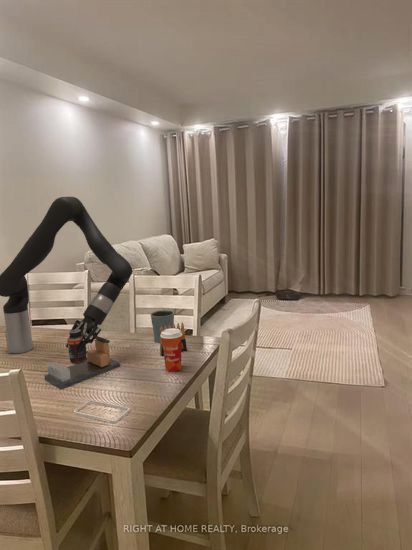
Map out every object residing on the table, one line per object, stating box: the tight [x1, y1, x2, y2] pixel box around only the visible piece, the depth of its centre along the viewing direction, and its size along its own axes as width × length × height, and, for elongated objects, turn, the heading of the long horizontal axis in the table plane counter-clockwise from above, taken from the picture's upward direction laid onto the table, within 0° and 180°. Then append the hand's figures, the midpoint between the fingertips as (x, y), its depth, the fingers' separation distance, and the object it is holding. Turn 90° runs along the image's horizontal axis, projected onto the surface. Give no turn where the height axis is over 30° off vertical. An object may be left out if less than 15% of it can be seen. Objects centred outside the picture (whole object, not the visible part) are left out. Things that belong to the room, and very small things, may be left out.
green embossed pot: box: [150, 309, 175, 344], centre depth 173 cm, size 10×10×12 cm
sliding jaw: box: [86, 335, 111, 367], centre depth 147 cm, size 5×10×9 cm, turn 47°
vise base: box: [44, 358, 121, 390], centre depth 143 cm, size 23×12×6 cm, turn 137°
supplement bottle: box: [66, 329, 88, 365], centre depth 140 cm, size 6×6×11 cm
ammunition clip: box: [159, 321, 188, 358], centre depth 157 cm, size 11×2×12 cm, turn 116°
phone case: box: [73, 399, 131, 424], centre depth 115 cm, size 7×1×15 cm
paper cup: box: [160, 327, 182, 373], centre depth 142 cm, size 8×8×14 cm
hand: (72, 349), depth 139 cm, fingers closed on supplement bottle, 6 cm apart
